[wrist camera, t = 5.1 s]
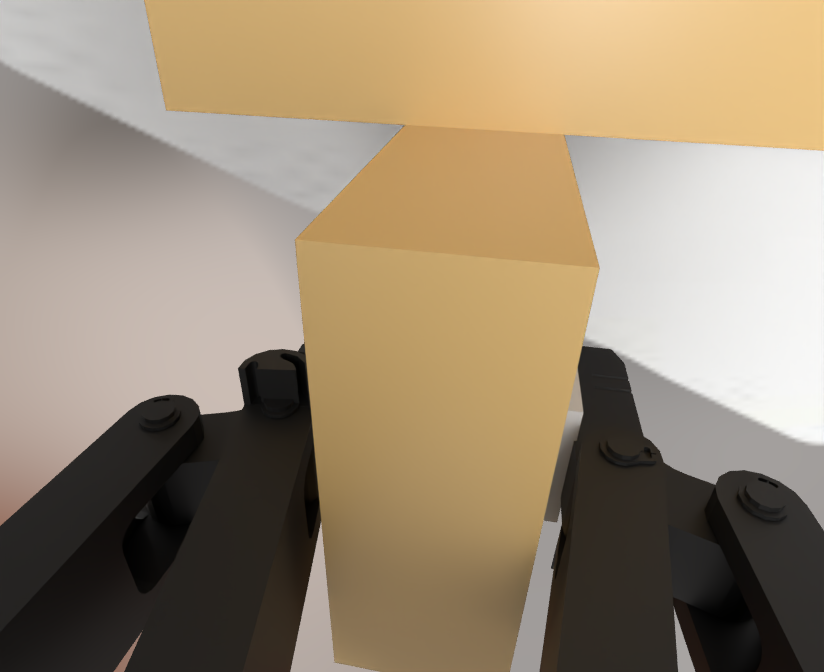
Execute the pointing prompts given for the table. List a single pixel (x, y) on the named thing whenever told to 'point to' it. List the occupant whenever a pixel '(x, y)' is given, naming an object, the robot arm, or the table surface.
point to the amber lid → (468, 258)
